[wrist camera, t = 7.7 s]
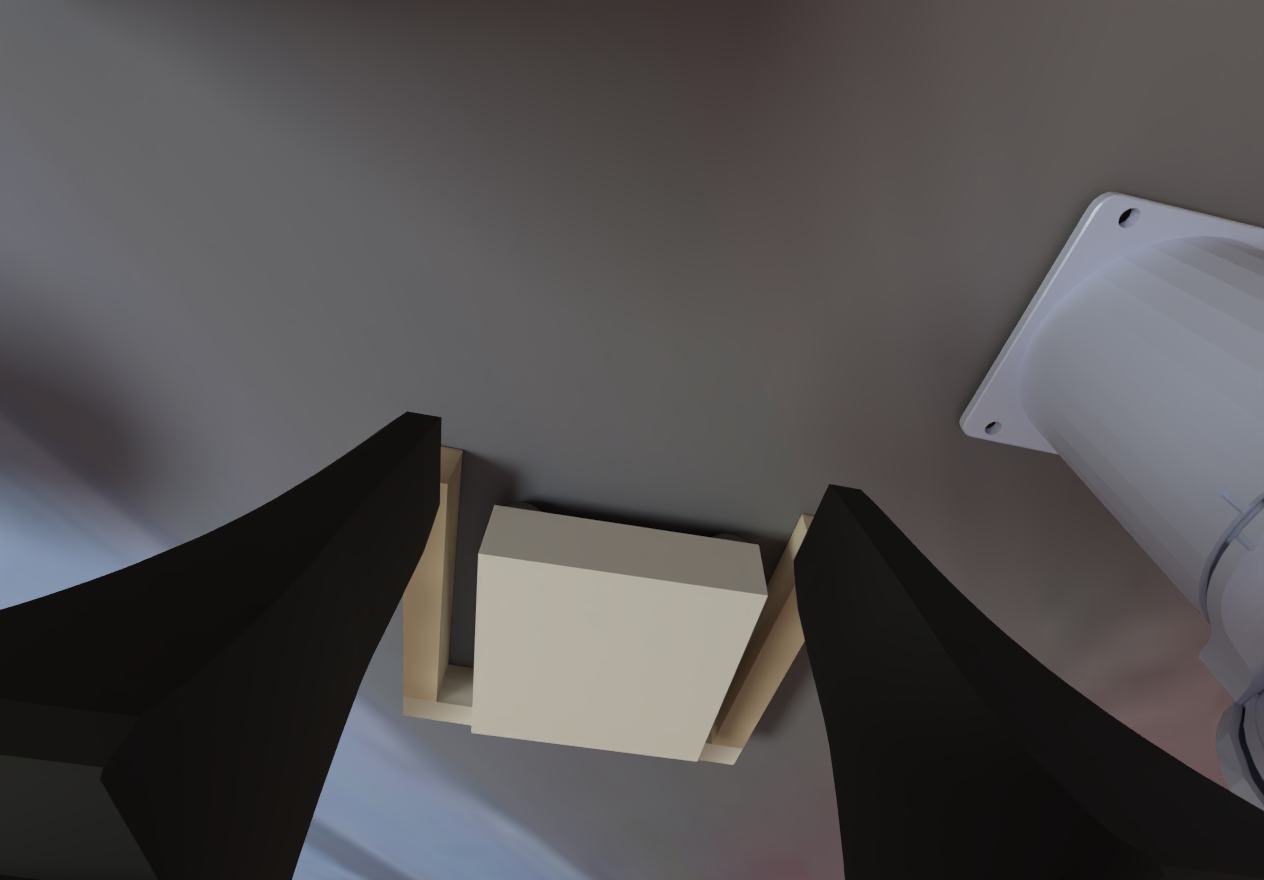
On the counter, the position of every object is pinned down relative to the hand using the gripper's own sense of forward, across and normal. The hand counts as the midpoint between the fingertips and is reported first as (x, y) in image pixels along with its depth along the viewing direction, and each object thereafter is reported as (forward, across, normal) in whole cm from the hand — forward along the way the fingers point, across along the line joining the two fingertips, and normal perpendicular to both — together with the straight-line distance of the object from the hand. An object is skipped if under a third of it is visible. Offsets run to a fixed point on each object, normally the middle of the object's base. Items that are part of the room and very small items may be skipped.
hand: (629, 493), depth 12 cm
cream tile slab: (+9, -1, +14) cm, 17 cm away
